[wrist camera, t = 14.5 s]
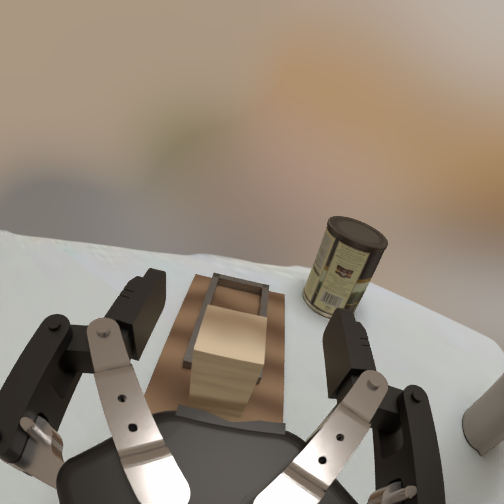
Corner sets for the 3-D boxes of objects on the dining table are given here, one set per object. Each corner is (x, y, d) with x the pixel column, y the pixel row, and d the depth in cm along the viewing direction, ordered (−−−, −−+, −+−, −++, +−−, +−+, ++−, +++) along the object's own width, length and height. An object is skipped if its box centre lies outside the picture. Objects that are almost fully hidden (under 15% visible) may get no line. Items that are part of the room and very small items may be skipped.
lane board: (279, 466, 22) (285, 460, 21) (131, 434, 21) (128, 426, 20) (283, 297, 47) (287, 287, 45) (195, 277, 46) (196, 266, 45)
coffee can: (345, 286, 54) (373, 223, 47) (361, 322, 45) (398, 252, 38) (297, 279, 52) (321, 210, 45) (307, 317, 43) (339, 239, 36)
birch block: (235, 428, 24) (264, 364, 19) (187, 418, 24) (193, 349, 18) (240, 390, 29) (267, 317, 23) (197, 381, 29) (207, 304, 23)
